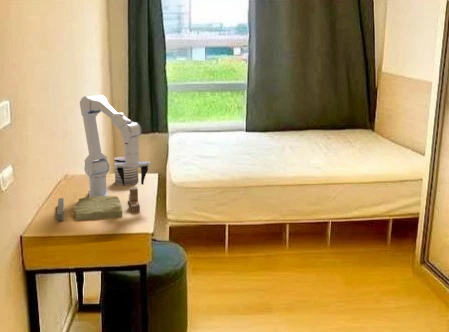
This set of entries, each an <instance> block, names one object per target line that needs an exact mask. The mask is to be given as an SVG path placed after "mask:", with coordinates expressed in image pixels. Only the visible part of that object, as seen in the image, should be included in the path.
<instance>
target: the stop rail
mask: <svg viewBox="0 0 449 332" xmlns="http://www.w3.org/2000/svg"><path fill="white" fill-rule="evenodd" d="M64 199H65V198H64V197H61V198H60V197H59V198H58V199H57V210H56V221H57V222H63V220H64V207H65V201H64Z"/></svg>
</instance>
